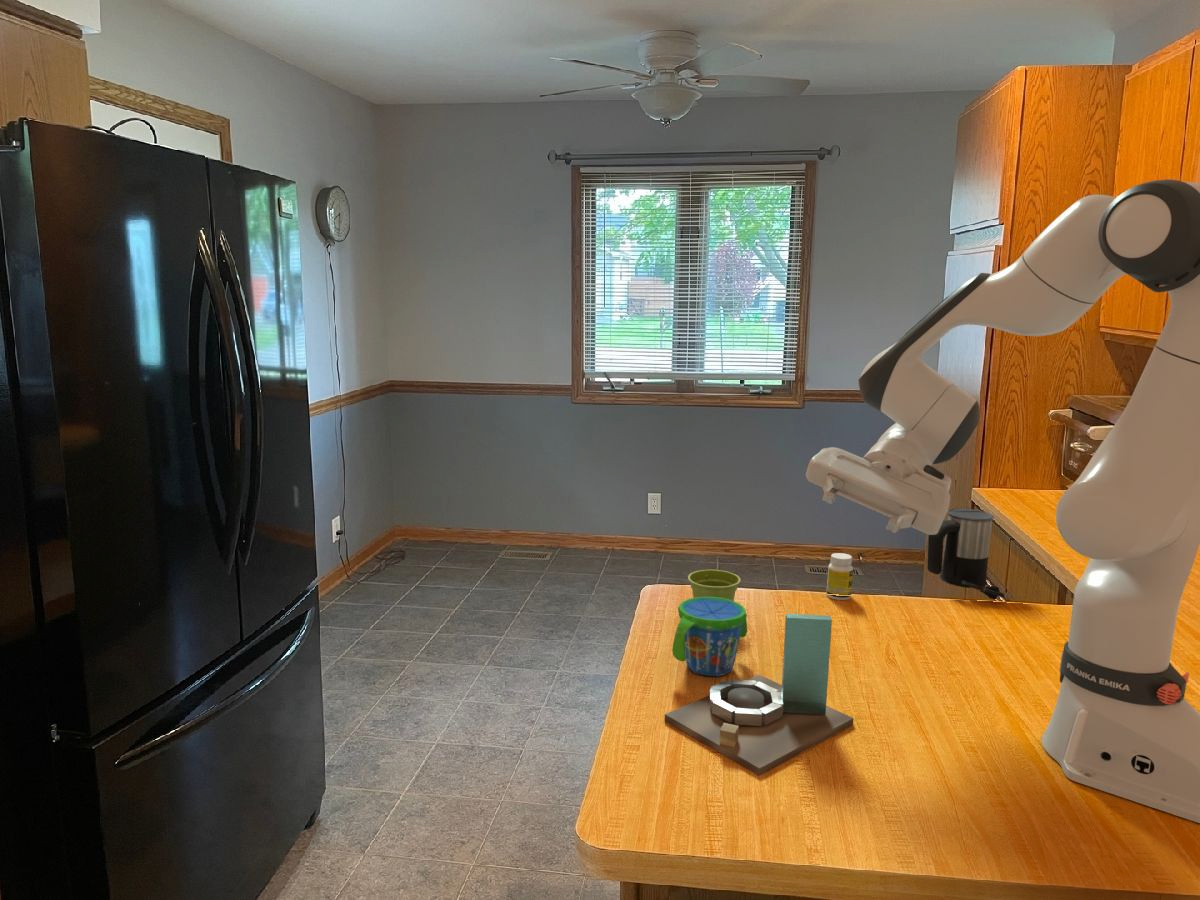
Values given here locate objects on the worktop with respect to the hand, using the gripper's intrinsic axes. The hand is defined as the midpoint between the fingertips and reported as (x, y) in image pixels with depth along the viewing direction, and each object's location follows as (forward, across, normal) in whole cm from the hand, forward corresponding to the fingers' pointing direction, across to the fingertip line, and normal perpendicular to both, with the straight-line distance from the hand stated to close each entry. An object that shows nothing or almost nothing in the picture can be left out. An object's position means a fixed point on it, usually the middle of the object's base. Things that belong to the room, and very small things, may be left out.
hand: (859, 512), depth 115 cm
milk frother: (-56, +18, +40) cm, 71 cm away
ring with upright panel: (+17, -1, +26) cm, 31 cm away
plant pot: (-8, -18, +40) cm, 45 cm away
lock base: (+19, 0, +27) cm, 33 cm away
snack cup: (+8, -12, +34) cm, 37 cm away
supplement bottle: (-35, -3, +42) cm, 54 cm away
